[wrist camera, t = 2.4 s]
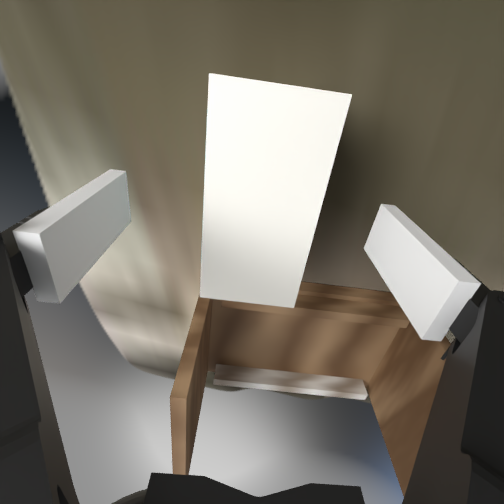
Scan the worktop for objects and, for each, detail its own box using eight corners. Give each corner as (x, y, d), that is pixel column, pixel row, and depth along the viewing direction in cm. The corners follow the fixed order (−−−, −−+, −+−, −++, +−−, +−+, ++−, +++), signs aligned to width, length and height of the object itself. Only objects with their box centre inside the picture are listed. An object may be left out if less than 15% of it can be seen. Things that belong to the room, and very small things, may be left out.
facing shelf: (415, 295, 30) (514, 431, 18) (370, 377, 37) (419, 512, 25) (206, 270, 29) (170, 396, 17) (201, 359, 36) (173, 491, 24)
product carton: (283, 235, 27) (293, 308, 18) (217, 226, 26) (195, 296, 18) (314, 88, 20) (352, 94, 12) (227, 75, 20) (203, 72, 12)
